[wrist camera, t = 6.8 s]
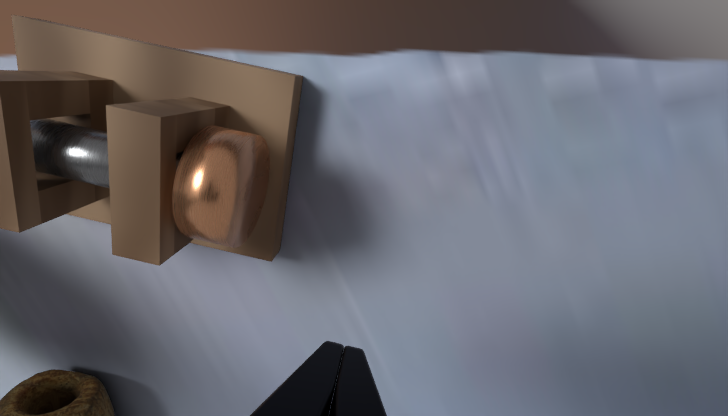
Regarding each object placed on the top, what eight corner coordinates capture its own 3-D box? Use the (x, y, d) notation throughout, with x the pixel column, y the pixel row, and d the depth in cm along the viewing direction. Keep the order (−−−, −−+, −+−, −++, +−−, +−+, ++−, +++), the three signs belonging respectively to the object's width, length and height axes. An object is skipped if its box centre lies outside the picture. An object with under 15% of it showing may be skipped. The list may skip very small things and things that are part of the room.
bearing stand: (57, 198, 23) (-85, 248, 16) (40, 19, 19) (-150, -11, 13) (279, 249, 22) (227, 322, 16) (303, 76, 19) (248, 75, 12)
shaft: (37, 170, 20) (-76, 199, 15) (27, 73, 18) (-105, 72, 13) (263, 222, 19) (219, 268, 15) (274, 128, 18) (227, 146, 13)
